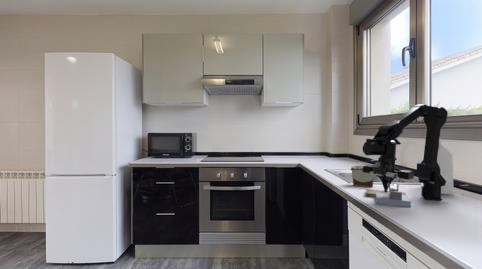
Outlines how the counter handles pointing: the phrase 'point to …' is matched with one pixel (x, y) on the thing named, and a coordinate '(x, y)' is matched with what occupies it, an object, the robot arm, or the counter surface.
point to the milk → (445, 168)
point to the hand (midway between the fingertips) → (385, 192)
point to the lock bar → (393, 187)
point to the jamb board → (373, 192)
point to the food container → (362, 177)
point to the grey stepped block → (393, 199)
